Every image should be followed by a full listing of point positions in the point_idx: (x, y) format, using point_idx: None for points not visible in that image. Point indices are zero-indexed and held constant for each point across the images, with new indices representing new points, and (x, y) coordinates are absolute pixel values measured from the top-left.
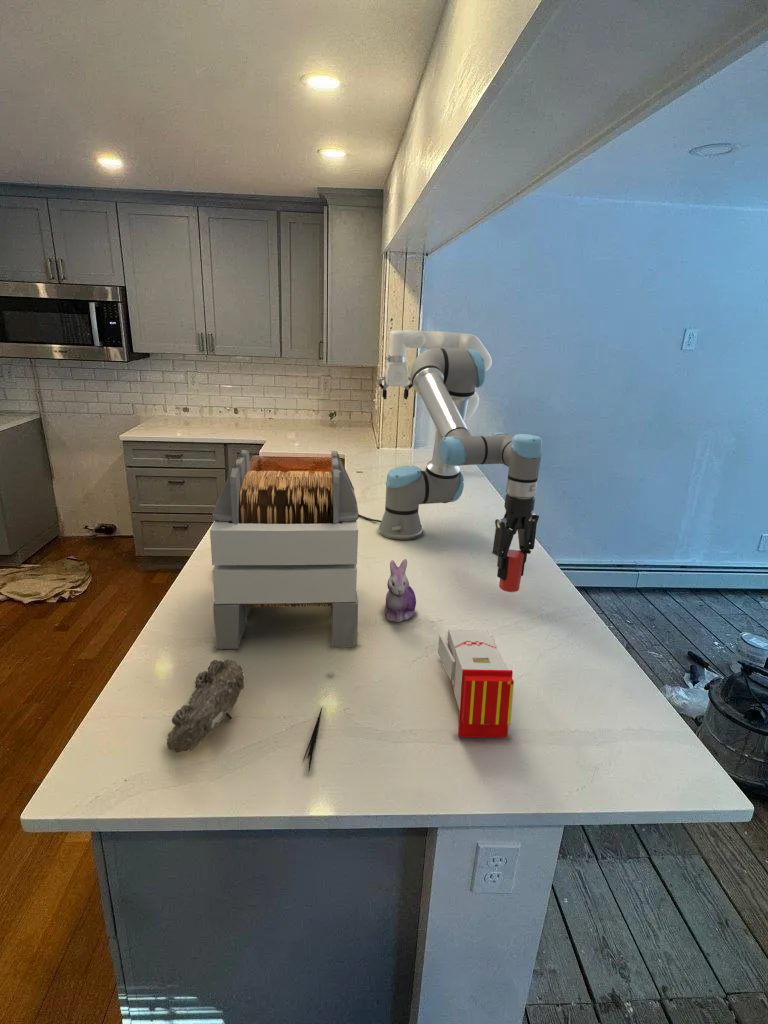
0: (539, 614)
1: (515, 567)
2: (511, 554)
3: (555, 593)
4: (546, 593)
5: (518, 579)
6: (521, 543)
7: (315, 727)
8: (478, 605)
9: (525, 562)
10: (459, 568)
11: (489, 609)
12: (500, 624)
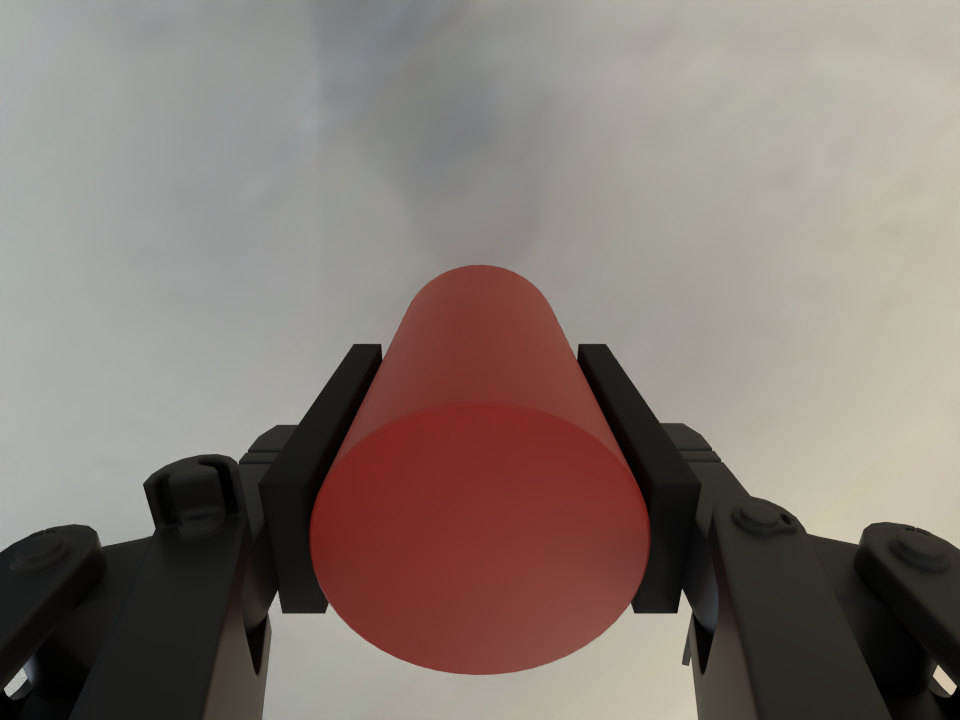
0: (404, 51)
1: (537, 350)
2: (539, 543)
3: (89, 241)
4: (155, 270)
5: (466, 292)
6: (242, 715)
7: None
8: (685, 346)
9: (274, 427)
10: (465, 683)
11: (665, 277)
12: (762, 78)
